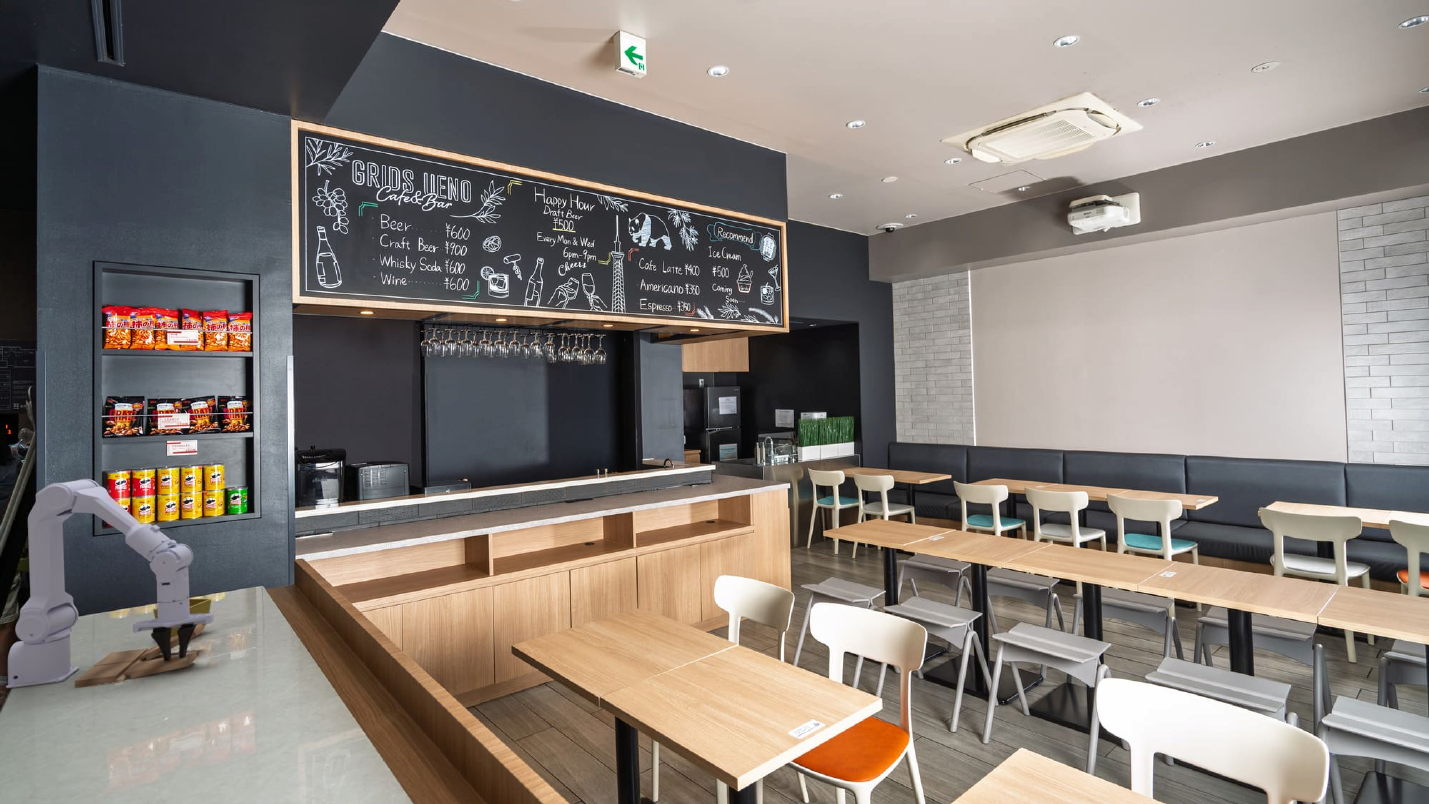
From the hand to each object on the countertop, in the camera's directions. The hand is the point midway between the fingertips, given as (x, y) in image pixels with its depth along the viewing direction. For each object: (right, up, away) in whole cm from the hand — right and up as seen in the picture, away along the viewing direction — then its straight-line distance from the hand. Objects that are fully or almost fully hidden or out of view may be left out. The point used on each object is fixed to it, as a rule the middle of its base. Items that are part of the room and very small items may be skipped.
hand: (175, 658), depth 156 cm
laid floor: (-13, -3, 0) cm, 13 cm away
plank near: (-2, -2, -1) cm, 3 cm away
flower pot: (-15, -3, +21) cm, 26 cm away
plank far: (-7, 0, +8) cm, 10 cm away
